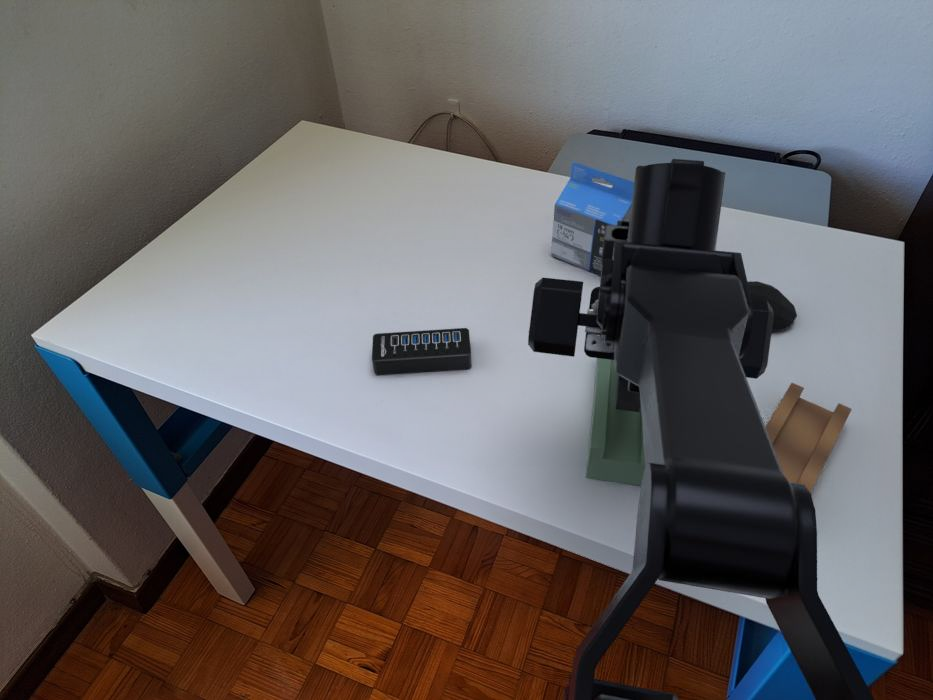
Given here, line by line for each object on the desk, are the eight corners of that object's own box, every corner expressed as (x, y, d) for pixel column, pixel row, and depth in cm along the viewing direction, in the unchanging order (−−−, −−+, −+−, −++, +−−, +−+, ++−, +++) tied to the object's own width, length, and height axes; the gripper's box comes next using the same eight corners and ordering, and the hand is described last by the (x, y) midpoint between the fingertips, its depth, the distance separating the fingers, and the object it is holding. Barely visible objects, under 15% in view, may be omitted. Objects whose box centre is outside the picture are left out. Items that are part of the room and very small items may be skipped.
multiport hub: (471, 369, 77) (471, 354, 75) (374, 375, 77) (371, 361, 75) (469, 341, 80) (468, 327, 78) (375, 347, 80) (372, 333, 78)
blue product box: (548, 256, 90) (554, 174, 81) (563, 241, 93) (570, 160, 84) (609, 280, 87) (622, 197, 78) (623, 264, 89) (637, 181, 80)
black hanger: (639, 412, 64) (659, 326, 56) (615, 409, 64) (631, 323, 56) (641, 351, 70) (659, 265, 61) (619, 349, 70) (634, 263, 62)
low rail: (786, 538, 61) (794, 524, 60) (722, 503, 64) (728, 488, 62) (842, 424, 70) (852, 408, 68) (784, 397, 73) (791, 382, 71)
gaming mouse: (662, 293, 85) (668, 268, 82) (787, 299, 83) (797, 273, 80) (667, 329, 80) (674, 304, 77) (799, 335, 79) (810, 310, 76)
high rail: (648, 487, 66) (657, 457, 62) (585, 477, 66) (590, 447, 63) (651, 366, 76) (658, 334, 73) (596, 359, 77) (601, 327, 74)
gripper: (810, 223, 47) (753, 253, 62) (538, 200, 50) (548, 234, 65) (789, 384, 47) (737, 374, 62) (520, 351, 50) (534, 350, 65)
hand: (637, 329), depth 64 cm, fingers closed on black hanger, 2 cm apart
